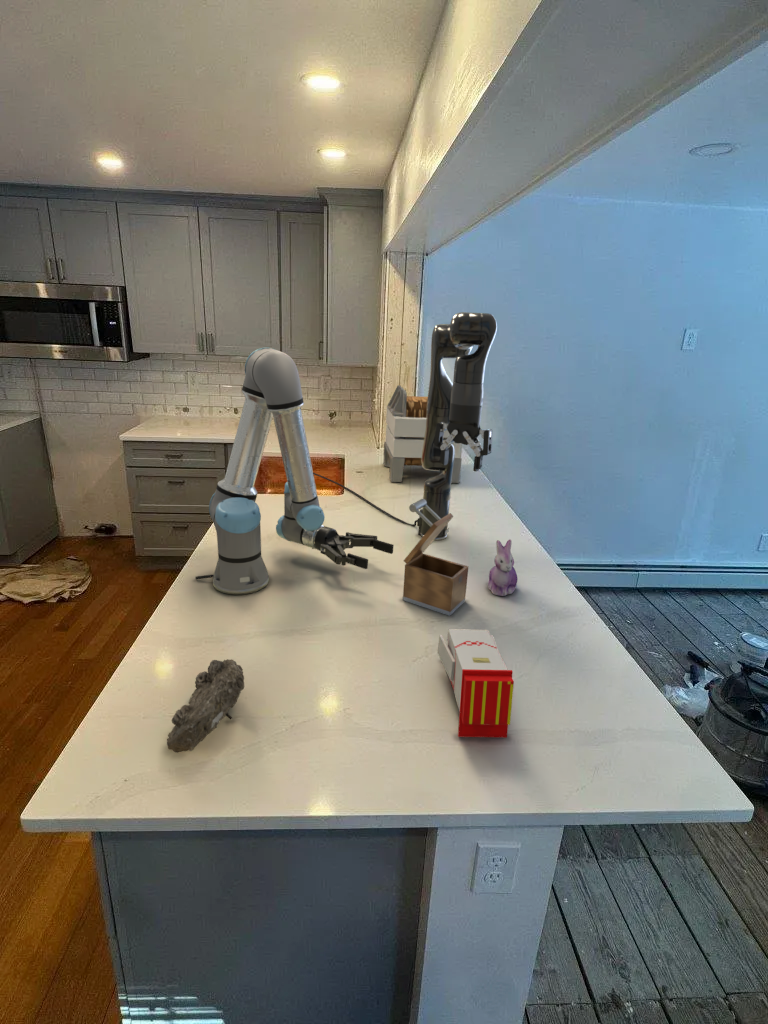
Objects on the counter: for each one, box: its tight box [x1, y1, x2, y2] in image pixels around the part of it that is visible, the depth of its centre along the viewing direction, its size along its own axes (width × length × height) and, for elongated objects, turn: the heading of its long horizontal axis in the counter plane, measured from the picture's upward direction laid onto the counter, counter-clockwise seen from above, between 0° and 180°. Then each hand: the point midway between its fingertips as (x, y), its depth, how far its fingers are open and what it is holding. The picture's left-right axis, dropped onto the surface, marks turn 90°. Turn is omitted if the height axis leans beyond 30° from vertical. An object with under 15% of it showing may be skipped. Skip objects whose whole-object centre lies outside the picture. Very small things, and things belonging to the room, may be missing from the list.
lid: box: [403, 498, 454, 564], centre depth 151 cm, size 15×10×9 cm
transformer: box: [383, 384, 463, 484], centre depth 268 cm, size 34×33×41 cm
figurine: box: [487, 538, 518, 597], centre depth 160 cm, size 9×10×15 cm
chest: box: [402, 552, 469, 617], centre depth 153 cm, size 14×10×11 cm
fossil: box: [166, 658, 245, 754], centre depth 106 cm, size 22×10×15 cm
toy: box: [437, 628, 515, 738], centre depth 117 cm, size 12×13×30 cm
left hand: (380, 556), depth 161 cm, fingers open, 13 cm apart
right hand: (460, 467), depth 140 cm, fingers open, 8 cm apart
